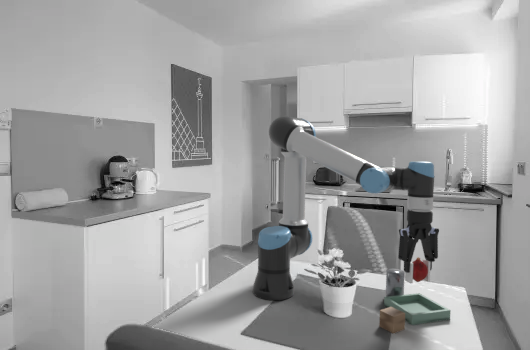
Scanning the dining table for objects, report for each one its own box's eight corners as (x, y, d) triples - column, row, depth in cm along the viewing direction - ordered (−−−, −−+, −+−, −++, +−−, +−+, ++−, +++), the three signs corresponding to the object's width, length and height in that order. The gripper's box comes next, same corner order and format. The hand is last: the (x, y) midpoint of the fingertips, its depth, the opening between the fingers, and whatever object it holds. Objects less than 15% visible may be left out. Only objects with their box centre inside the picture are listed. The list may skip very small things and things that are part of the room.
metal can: (382, 296, 127) (383, 269, 126) (396, 294, 129) (397, 268, 128) (392, 303, 121) (393, 274, 121) (407, 301, 123) (408, 273, 122)
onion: (429, 286, 110) (430, 260, 110) (410, 284, 111) (410, 259, 111) (424, 279, 116) (425, 255, 115) (406, 278, 117) (407, 254, 116)
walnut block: (379, 326, 105) (379, 310, 104) (390, 322, 107) (391, 306, 107) (393, 334, 100) (393, 316, 100) (404, 329, 103) (405, 313, 103)
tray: (384, 305, 119) (384, 296, 119) (418, 301, 123) (419, 293, 123) (412, 324, 106) (412, 315, 105) (450, 319, 109) (450, 310, 109)
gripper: (402, 212, 106) (399, 287, 107) (453, 210, 111) (450, 282, 113) (387, 209, 113) (385, 279, 115) (435, 207, 119) (433, 274, 120)
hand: (417, 280), depth 114 cm, fingers closed on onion, 6 cm apart
